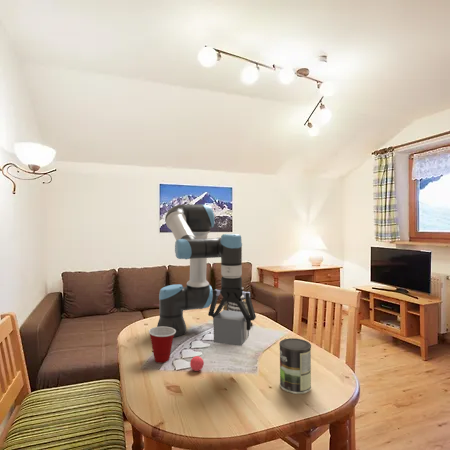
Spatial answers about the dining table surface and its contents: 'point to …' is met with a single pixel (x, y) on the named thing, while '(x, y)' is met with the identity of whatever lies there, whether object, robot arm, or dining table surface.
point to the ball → (196, 363)
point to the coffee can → (295, 365)
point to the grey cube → (229, 328)
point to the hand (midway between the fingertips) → (231, 336)
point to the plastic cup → (161, 342)
